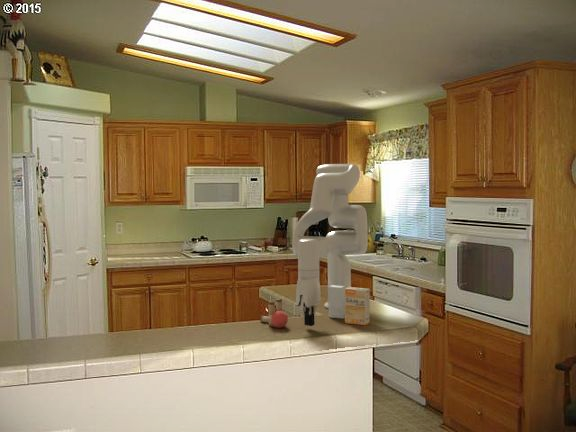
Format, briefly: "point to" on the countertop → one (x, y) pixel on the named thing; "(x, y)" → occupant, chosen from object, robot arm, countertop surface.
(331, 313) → the skincare box
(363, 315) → the supplement box
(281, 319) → the ball
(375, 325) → the countertop surface
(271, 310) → the pin
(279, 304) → the pin
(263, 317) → the front pin
